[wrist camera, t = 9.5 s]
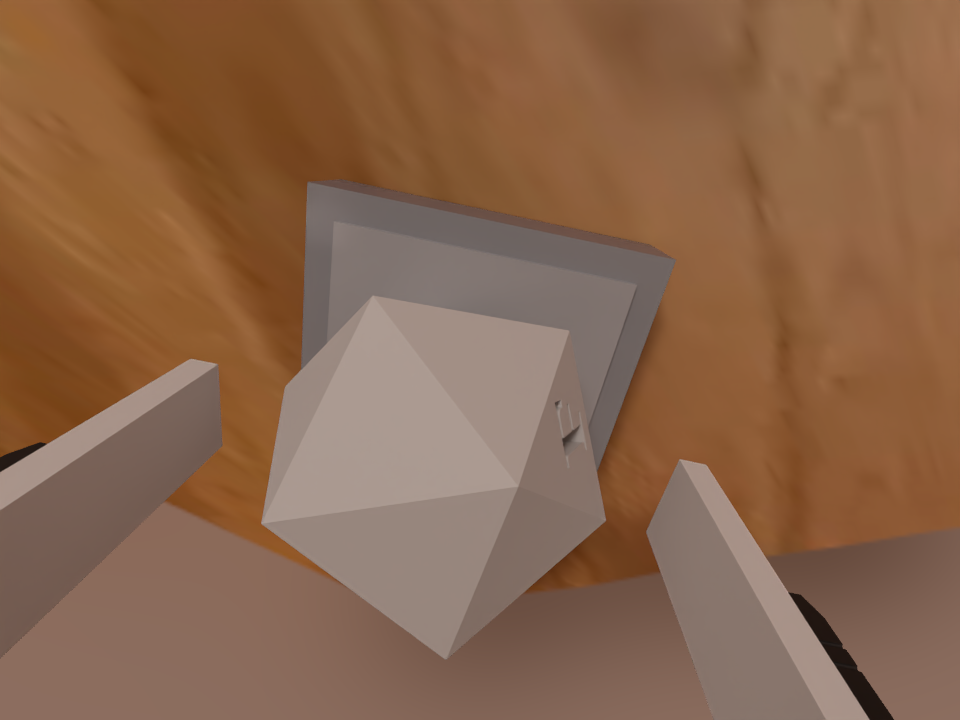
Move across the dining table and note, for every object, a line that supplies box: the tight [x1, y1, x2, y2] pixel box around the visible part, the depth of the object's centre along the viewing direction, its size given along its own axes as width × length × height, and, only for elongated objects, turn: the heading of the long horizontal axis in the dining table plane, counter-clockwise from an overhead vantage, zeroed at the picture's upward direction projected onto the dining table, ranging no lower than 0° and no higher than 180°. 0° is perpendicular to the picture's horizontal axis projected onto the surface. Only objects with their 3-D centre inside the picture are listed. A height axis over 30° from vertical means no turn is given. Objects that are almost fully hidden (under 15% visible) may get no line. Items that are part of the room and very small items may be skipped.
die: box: [261, 296, 606, 660], centre depth 13 cm, size 8×9×10 cm
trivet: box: [301, 179, 676, 471], centre depth 18 cm, size 12×12×3 cm
